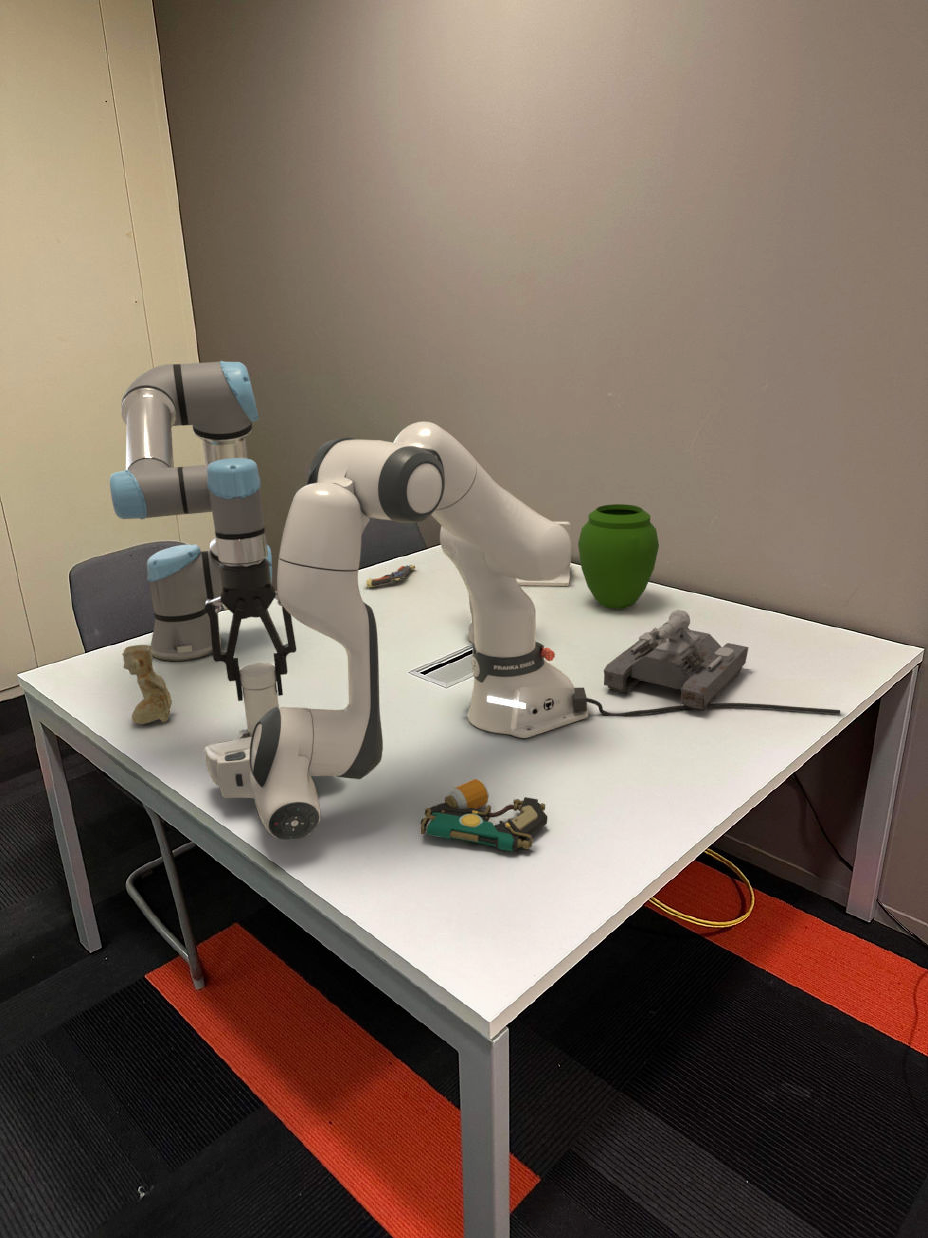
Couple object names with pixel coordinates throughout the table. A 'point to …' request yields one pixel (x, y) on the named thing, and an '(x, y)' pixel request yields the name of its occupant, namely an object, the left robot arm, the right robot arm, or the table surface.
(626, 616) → the table surface
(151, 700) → the sculpture
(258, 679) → the lid
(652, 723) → the table surface
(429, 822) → the spray gun
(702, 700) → the toy
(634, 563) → the vase
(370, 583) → the toy gun
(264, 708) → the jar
